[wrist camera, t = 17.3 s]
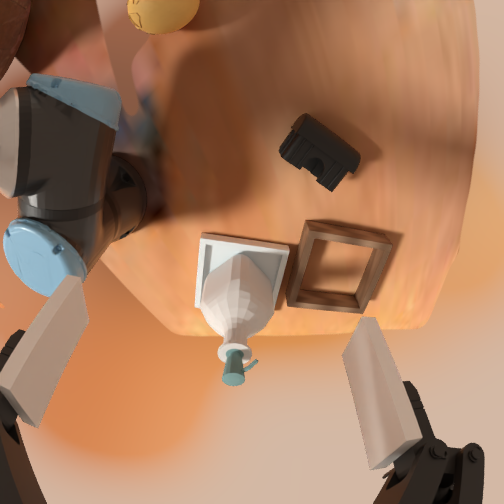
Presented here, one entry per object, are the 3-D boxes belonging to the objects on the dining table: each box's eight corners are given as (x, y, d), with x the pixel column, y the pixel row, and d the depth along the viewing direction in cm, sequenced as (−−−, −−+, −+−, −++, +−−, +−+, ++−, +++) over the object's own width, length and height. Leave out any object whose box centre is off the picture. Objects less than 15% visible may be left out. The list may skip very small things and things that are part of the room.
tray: (196, 300, 59) (194, 307, 58) (201, 232, 52) (200, 238, 50) (271, 310, 61) (271, 317, 59) (288, 245, 53) (289, 251, 51)
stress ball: (211, 0, 33) (181, -46, 24) (211, 26, 30) (174, -30, 21) (155, 27, 36) (121, -14, 28) (146, 57, 33) (104, 11, 24)
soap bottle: (276, 281, 56) (287, 383, 36) (236, 306, 59) (230, 407, 39) (241, 245, 52) (237, 345, 32) (201, 274, 55) (179, 375, 35)
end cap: (352, 148, 45) (366, 157, 39) (326, 182, 48) (336, 196, 42) (301, 110, 42) (309, 114, 36) (275, 147, 45) (279, 156, 39)
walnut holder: (285, 293, 58) (287, 306, 55) (305, 220, 51) (309, 230, 47) (357, 301, 60) (363, 313, 56) (384, 234, 52) (392, 245, 49)
